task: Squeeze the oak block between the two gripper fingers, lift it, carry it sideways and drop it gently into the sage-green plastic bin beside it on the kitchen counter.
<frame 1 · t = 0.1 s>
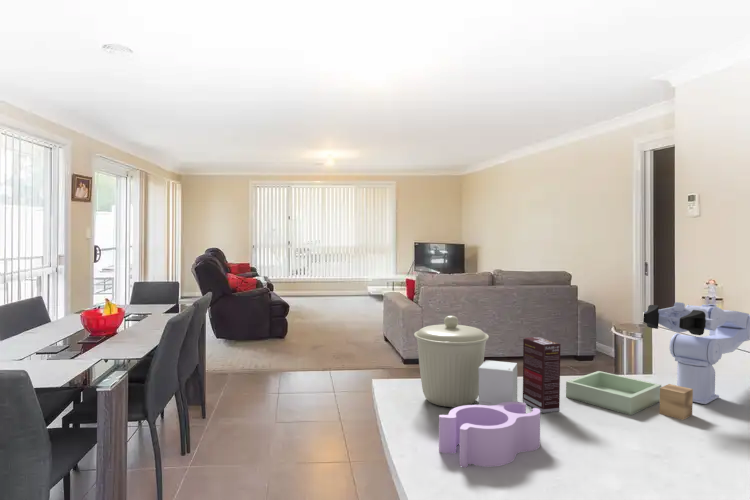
hand: (662, 320, 114), 22 cm above the worktop, tool horizontal, fingers open, 7 cm apart
oak block: (675, 414, 115), on the worktop
supplement box 2: (498, 422, 110), on the worktop
canister: (450, 401, 124), on the worktop
bin: (613, 399, 125), on the worktop
clip: (492, 450, 96), on the worktop
supplement box: (540, 407, 120), on the worktop
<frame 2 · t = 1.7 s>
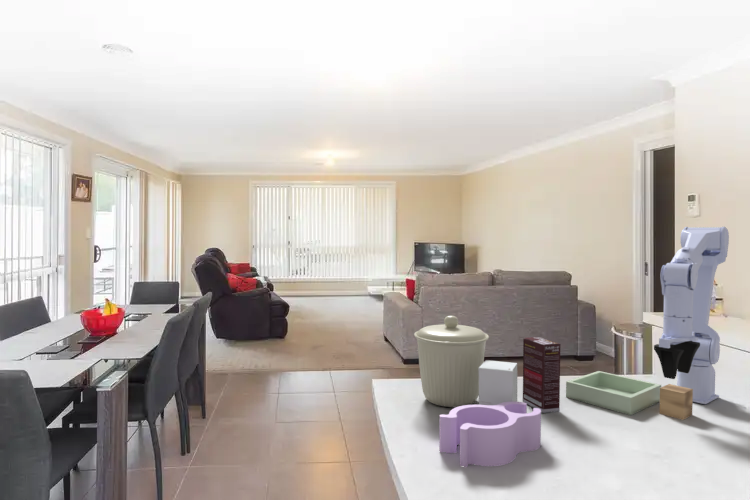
hand: (676, 375, 115), 9 cm above the worktop, tool pointing down, fingers open, 7 cm apart
nothing on the worktop moved.
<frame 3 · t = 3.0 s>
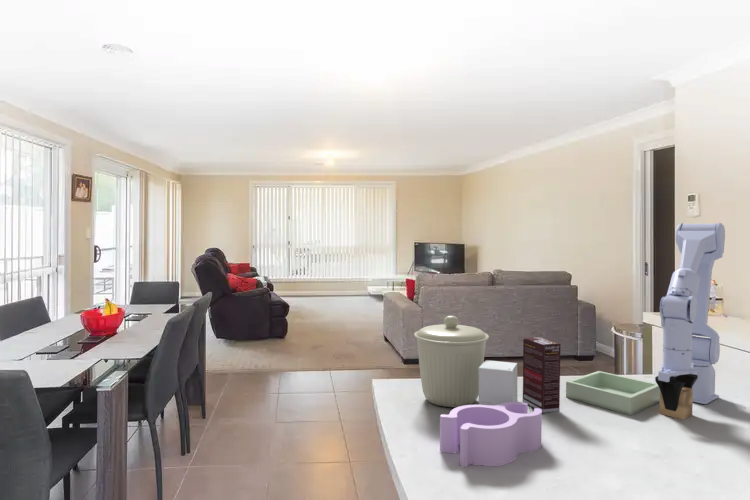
hand: (675, 407, 115), 2 cm above the worktop, tool pointing down, fingers closed on oak block, 5 cm apart
oak block: (675, 414, 115), on the worktop, touching gripper
everything else where it was.
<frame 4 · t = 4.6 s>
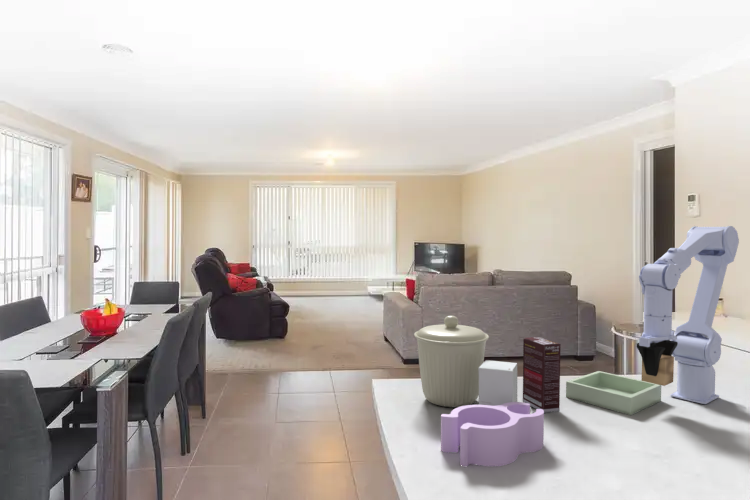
hand: (656, 372, 118), 9 cm above the worktop, tool pointing down, fingers closed on oak block, 5 cm apart
oak block: (657, 381, 118), point 7 cm above the worktop, touching gripper
everything else where it was.
when the fingers open (4 cm above the worktop, at t = 6.6 s): oak block stays where it is, resting on bin.
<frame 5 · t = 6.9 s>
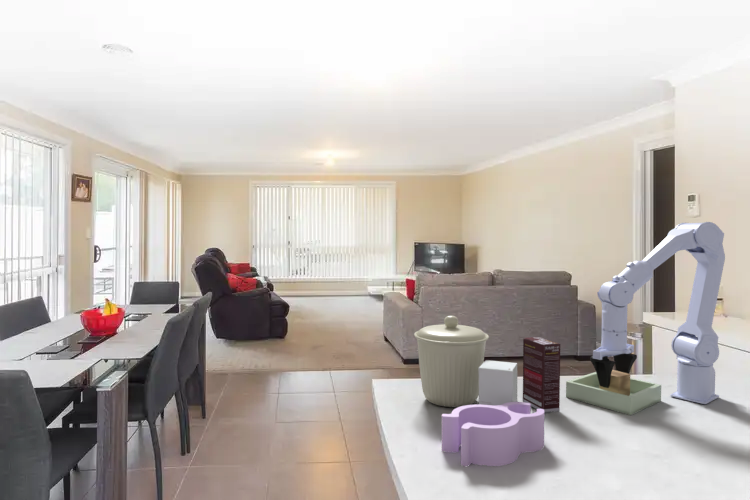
hand: (613, 384, 125), 4 cm above the worktop, tool pointing down, fingers open, 7 cm apart
oak block: (614, 397, 125), point 1 cm above the worktop, touching bin
everything else where it was.
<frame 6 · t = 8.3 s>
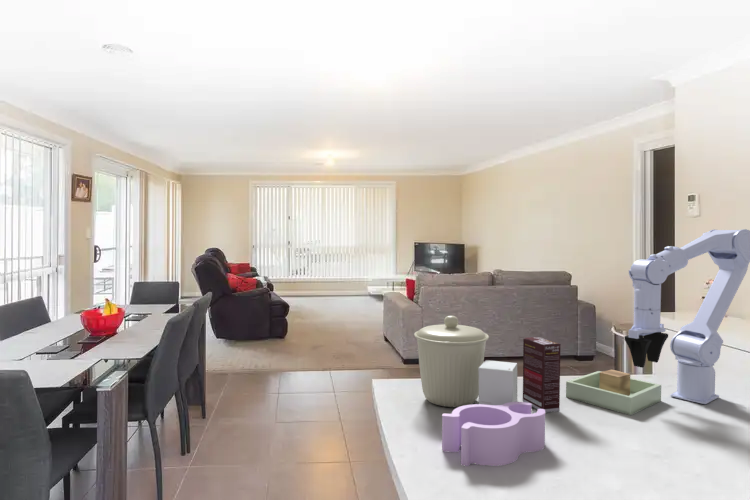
hand: (646, 364, 123), 9 cm above the worktop, tool pointing down, fingers open, 7 cm apart
nothing on the worktop moved.
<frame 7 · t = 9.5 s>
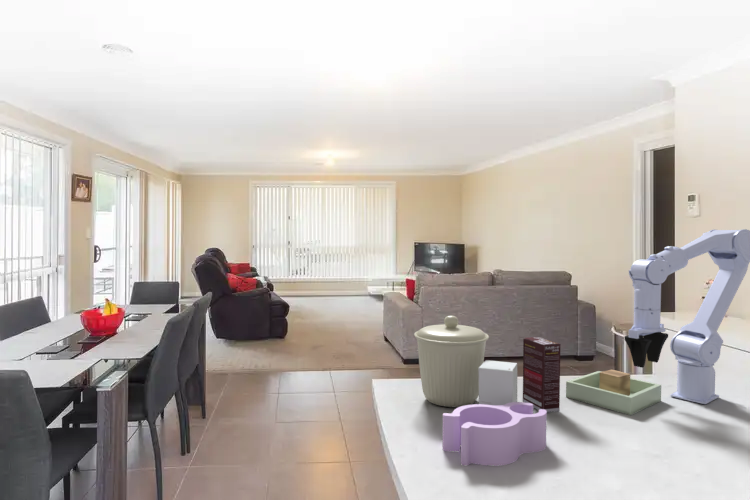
hand: (646, 364, 123), 9 cm above the worktop, tool pointing down, fingers open, 7 cm apart
nothing on the worktop moved.
at the end: oak block inside the target area on the bin (0.4 cm from its centre), point 0.6 cm above the bin's base; the gripper is holding nothing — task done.
